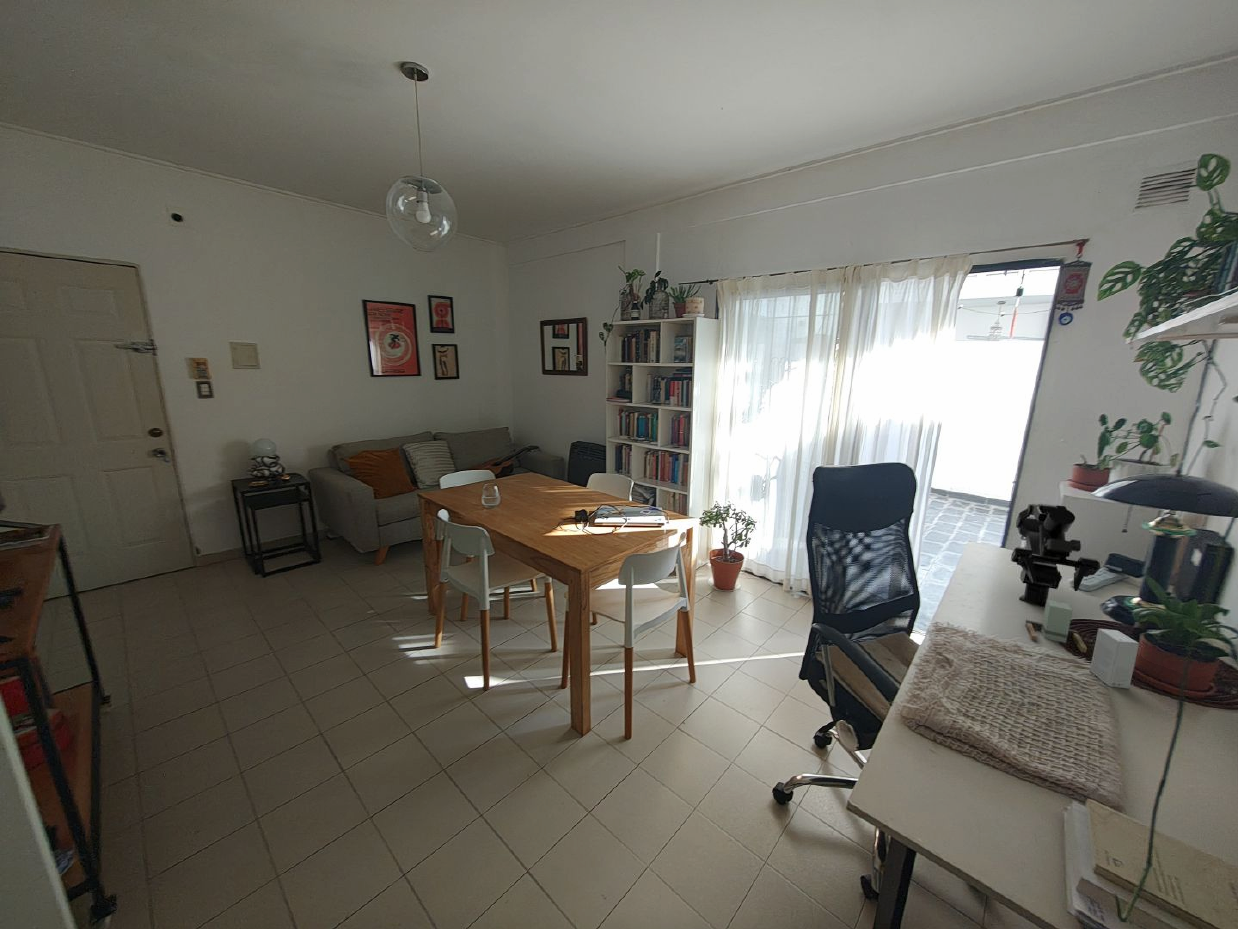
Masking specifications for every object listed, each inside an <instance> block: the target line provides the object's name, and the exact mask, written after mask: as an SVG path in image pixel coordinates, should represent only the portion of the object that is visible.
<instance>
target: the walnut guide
mask: <svg viewBox="0 0 1238 929" xmlns="http://www.w3.org/2000/svg"><path fill="white" fill-rule="evenodd" d="M1025 628H1026V631H1027V633H1028V635H1029V638H1030V639H1031V640H1030V641H1033V642H1037V639H1038V635H1037V633H1036V631H1035V630H1038V631H1041V628H1042V622H1037V621H1033V620H1029V619H1026V620H1025ZM1068 637H1070V638H1072V639H1073V641H1074V643H1075V644H1077V645H1076V646H1077V648H1078V649H1079V651H1080V653H1083V654H1086V653H1087V650H1088V648H1087V646H1086V644H1085V642H1084V641H1083V639H1082V638H1081V636H1080V635H1079V631H1078V630H1073V629H1070V628H1069V630H1068Z"/></svg>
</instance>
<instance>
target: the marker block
mask: <svg viewBox="0 0 1238 929" xmlns="http://www.w3.org/2000/svg"><path fill="white" fill-rule="evenodd" d="M1072 615H1073V608H1072V607H1071V606H1070V604H1069V603H1067V602H1062V601H1057V600H1051V599H1047V601H1046V606H1045V607H1044V612H1043V617H1042V622H1041V623H1042V628H1041V630H1040V632H1041V634H1042V637H1043V639H1047V640H1052V641H1056V642H1059V643H1064V644H1067V640H1068V637H1069V636H1068V630H1069V629H1070V625H1071V620H1072Z"/></svg>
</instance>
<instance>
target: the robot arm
mask: <svg viewBox="0 0 1238 929" xmlns="http://www.w3.org/2000/svg"><path fill="white" fill-rule="evenodd" d="M1074 521H1076V515H1074V513H1073V512H1072V511H1070V510H1068V509H1067V507H1066V505H1058V504H1056V505H1055V504H1048V503H1031V504H1028V506H1027V508H1025V509H1024V510H1022V511H1020V512H1019V513H1018V516H1017V519H1016V521H1015V528H1016V529H1017V530H1018V534H1019V535H1021V536H1022V537H1024V538H1025V542H1026V546H1027V548H1026V547H1020V546H1019V547H1018V546H1017V547H1015V548H1014V549H1013V551H1012V552H1011V558H1010V561H1011V562H1012V563H1016V565H1017V566H1020V568H1022V570H1021V572H1020V576H1019V577H1020V578H1019V579H1020V581H1021V583H1022V584H1025V586H1024V587H1025V588H1024V594H1023V595H1021V596H1019V598H1018V599H1019V600H1021V601H1024V602H1027V603H1029V604H1033V605H1036V606H1039V607H1042V608H1045V606H1046V601H1047V600H1049V599H1048V598H1049V592H1050V589H1053V590H1058V588H1059V585H1060V582H1061V581H1062V578H1063V575H1062V574H1061V572H1060V571H1059V570H1058V565H1059V566H1060V565H1061V566H1065V567H1072V568H1074V573H1073V590H1074V591H1075V592H1078V590H1079V589H1080V585H1081V584H1082V582H1083V580H1084V578H1085V577H1086V578H1088V577H1089V576H1095V574H1096V573H1097V572H1098V571H1099V570H1100V569H1101V562H1100V561H1098V560H1097V559H1095V558H1090V557H1084V556H1080V557H1079V558H1078V560H1074V559H1068V558H1069V557H1070V556H1071V553H1073V552H1075V553H1077V552H1080V551H1081V550H1082V544H1081V540H1077V539H1071V540H1066V533H1067V532H1068V531H1069V529H1070V528H1071V526H1072V525H1073V523H1074Z"/></svg>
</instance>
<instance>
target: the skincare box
mask: <svg viewBox="0 0 1238 929" xmlns="http://www.w3.org/2000/svg"><path fill="white" fill-rule="evenodd" d="M1095 638H1096V639H1095V644H1094V648H1093V654H1092V657H1091V663H1090V667H1089V672H1090V671H1091V672H1092V673H1093V674H1095V675H1097V676H1098V679H1099V680H1100V681H1101V682H1102V683H1105V685H1107V686H1108V687H1112V688H1119V689H1121V688H1122V689H1130V686H1131V681H1132V677H1133V672H1134V669H1135V666H1136V659H1137V654H1138V649H1139V646H1140V645H1139V644H1140V643H1139V641H1138V642H1137V641H1136V640H1134V639H1132V638H1130V637H1129V636H1128V635H1126V634H1124V633H1123V632H1121V631H1119V630H1118V629H1117V630H1115V629H1107V628H1098V629H1097V634H1096V637H1095ZM1091 672H1090V673H1091ZM1092 673H1091V674H1092ZM1093 674H1092V675H1093ZM1095 675H1094V676H1095Z"/></svg>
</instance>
